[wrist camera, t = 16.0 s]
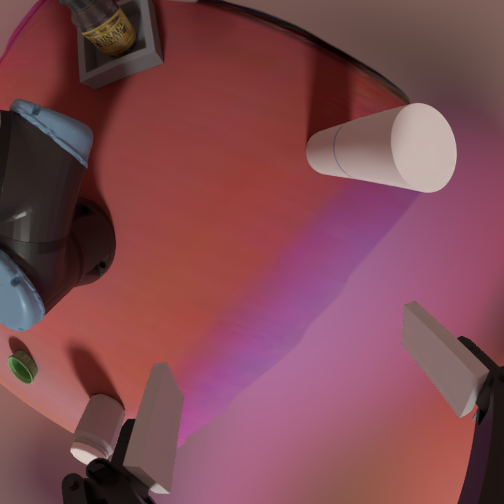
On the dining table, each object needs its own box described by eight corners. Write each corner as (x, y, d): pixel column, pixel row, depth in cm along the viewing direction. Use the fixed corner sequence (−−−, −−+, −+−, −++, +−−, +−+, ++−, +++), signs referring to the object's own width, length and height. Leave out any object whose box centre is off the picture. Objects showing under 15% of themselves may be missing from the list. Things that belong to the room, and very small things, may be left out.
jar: (127, 400, 54) (107, 458, 37) (125, 421, 57) (109, 475, 40) (90, 386, 53) (63, 440, 36) (91, 408, 55) (70, 458, 38)
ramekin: (24, 373, 52) (17, 382, 48) (10, 346, 49) (2, 355, 45) (44, 376, 52) (37, 386, 48) (29, 349, 49) (21, 358, 45)
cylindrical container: (296, 151, 41) (373, 139, 17) (326, 121, 39) (423, 86, 16) (327, 183, 43) (425, 211, 19) (356, 154, 41) (467, 155, 17)
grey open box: (95, 89, 35) (80, 82, 30) (90, 31, 31) (77, 20, 25) (163, 63, 35) (155, 51, 30) (154, 5, 31) (146, -10, 25)
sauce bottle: (110, 65, 33) (45, 21, 14) (101, 41, 31) (41, -7, 12) (145, 45, 33) (96, -14, 14) (135, 21, 31) (88, -39, 12)
